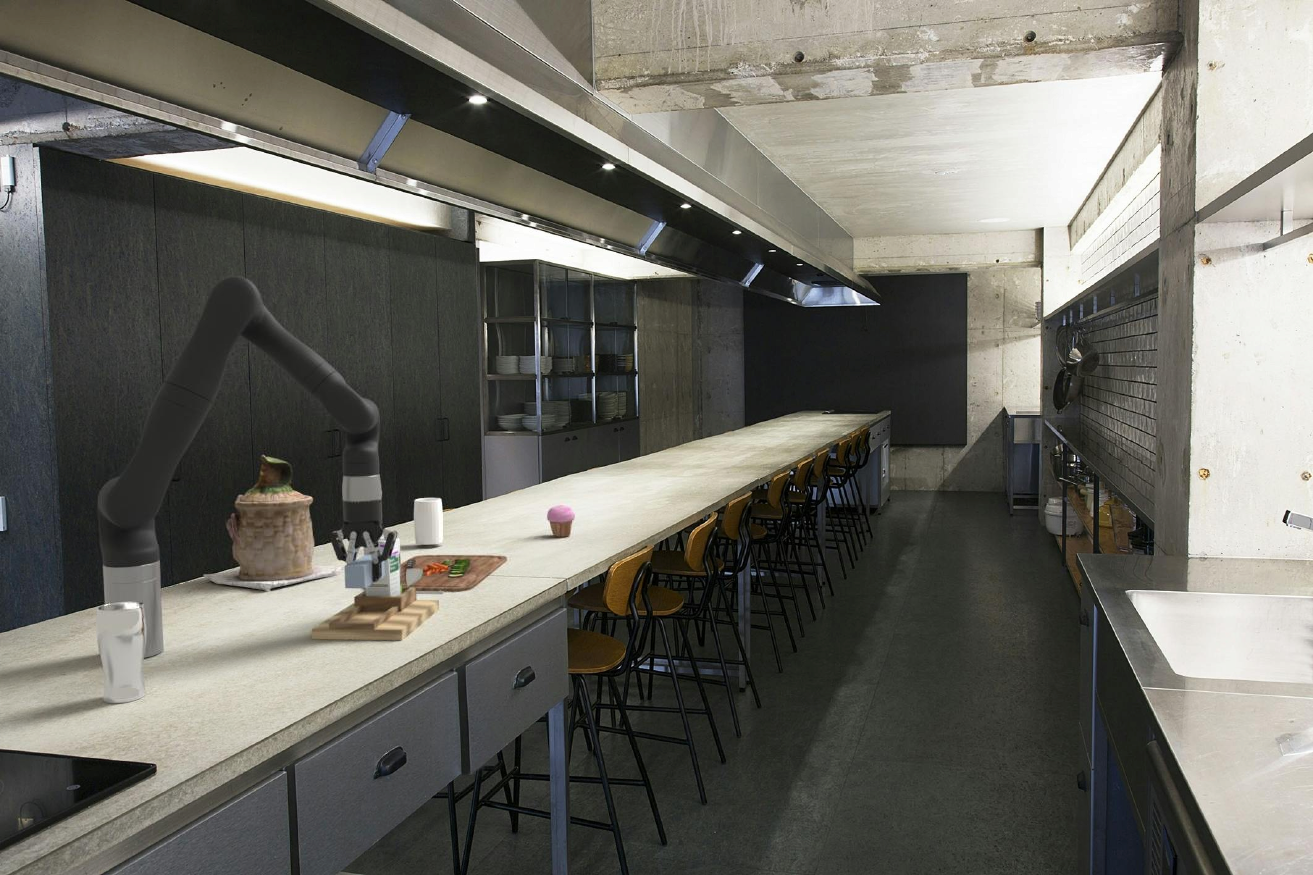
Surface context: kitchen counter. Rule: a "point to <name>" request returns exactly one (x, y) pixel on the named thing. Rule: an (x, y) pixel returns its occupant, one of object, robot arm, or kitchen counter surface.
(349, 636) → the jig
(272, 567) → the cookie jar
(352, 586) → the block
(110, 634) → the beer glass
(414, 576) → the chopping board
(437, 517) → the cup
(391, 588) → the syrup box
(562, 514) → the cupcake
